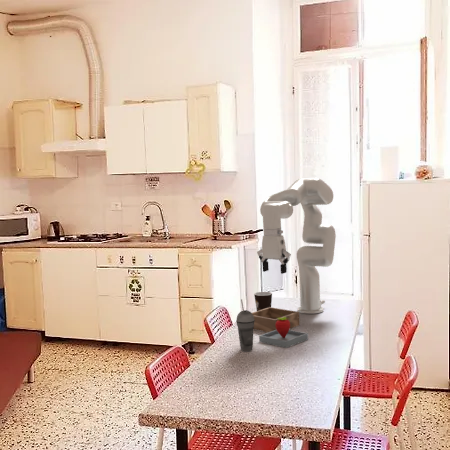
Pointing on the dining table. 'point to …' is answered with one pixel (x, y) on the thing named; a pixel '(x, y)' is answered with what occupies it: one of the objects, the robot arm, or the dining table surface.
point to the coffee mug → (263, 300)
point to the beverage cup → (245, 329)
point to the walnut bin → (274, 318)
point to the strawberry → (283, 326)
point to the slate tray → (286, 342)
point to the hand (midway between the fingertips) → (274, 272)
